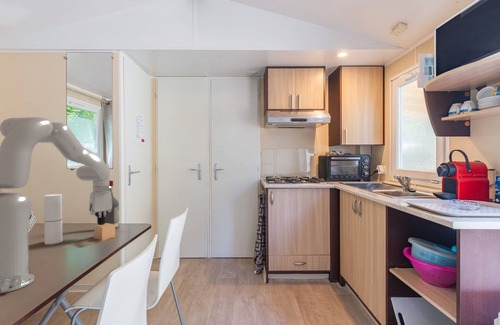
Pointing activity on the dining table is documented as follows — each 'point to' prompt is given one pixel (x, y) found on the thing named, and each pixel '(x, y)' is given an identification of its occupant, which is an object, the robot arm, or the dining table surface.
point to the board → (88, 242)
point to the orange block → (104, 231)
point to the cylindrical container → (53, 218)
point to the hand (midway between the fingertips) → (101, 224)
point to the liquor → (113, 210)
